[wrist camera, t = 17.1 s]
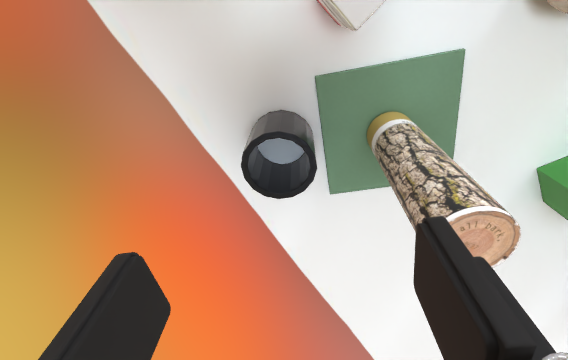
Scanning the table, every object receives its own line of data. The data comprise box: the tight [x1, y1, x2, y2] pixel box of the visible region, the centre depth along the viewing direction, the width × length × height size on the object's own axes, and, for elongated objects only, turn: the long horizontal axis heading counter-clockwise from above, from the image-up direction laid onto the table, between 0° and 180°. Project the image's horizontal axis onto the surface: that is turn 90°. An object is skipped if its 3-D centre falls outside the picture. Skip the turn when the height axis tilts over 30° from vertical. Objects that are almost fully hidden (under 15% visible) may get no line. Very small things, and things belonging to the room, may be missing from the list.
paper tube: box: [367, 112, 521, 268], centre depth 34 cm, size 7×7×25 cm
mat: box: [315, 49, 465, 194], centre depth 45 cm, size 20×20×1 cm
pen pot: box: [241, 110, 317, 199], centre depth 43 cm, size 10×10×9 cm
